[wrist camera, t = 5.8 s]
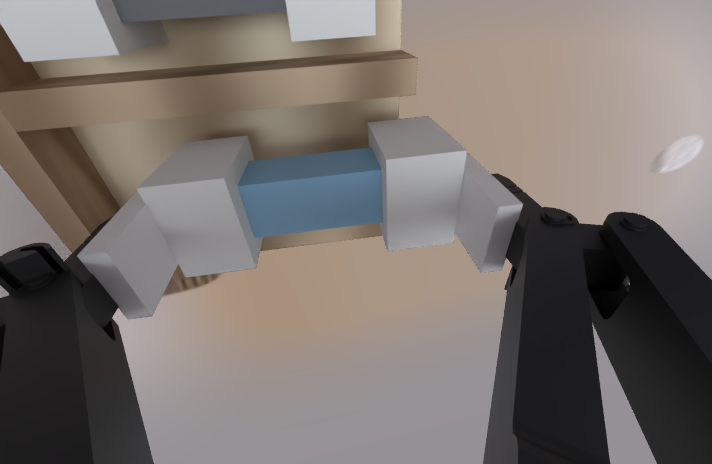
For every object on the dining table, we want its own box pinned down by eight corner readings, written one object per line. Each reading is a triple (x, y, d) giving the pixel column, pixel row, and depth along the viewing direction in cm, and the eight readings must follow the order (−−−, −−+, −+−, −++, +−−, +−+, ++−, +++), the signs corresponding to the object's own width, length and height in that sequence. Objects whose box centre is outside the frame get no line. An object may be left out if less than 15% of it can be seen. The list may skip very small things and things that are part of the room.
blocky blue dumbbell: (214, 218, 16) (185, 277, 12) (183, 142, 13) (136, 188, 10) (422, 193, 16) (453, 242, 13) (427, 115, 14) (467, 150, 10)
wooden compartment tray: (401, -198, 11) (437, -273, 8) (392, 200, 20) (407, 232, 18) (-153, -188, 9) (-354, -272, 7) (120, 232, 19) (88, 272, 16)
